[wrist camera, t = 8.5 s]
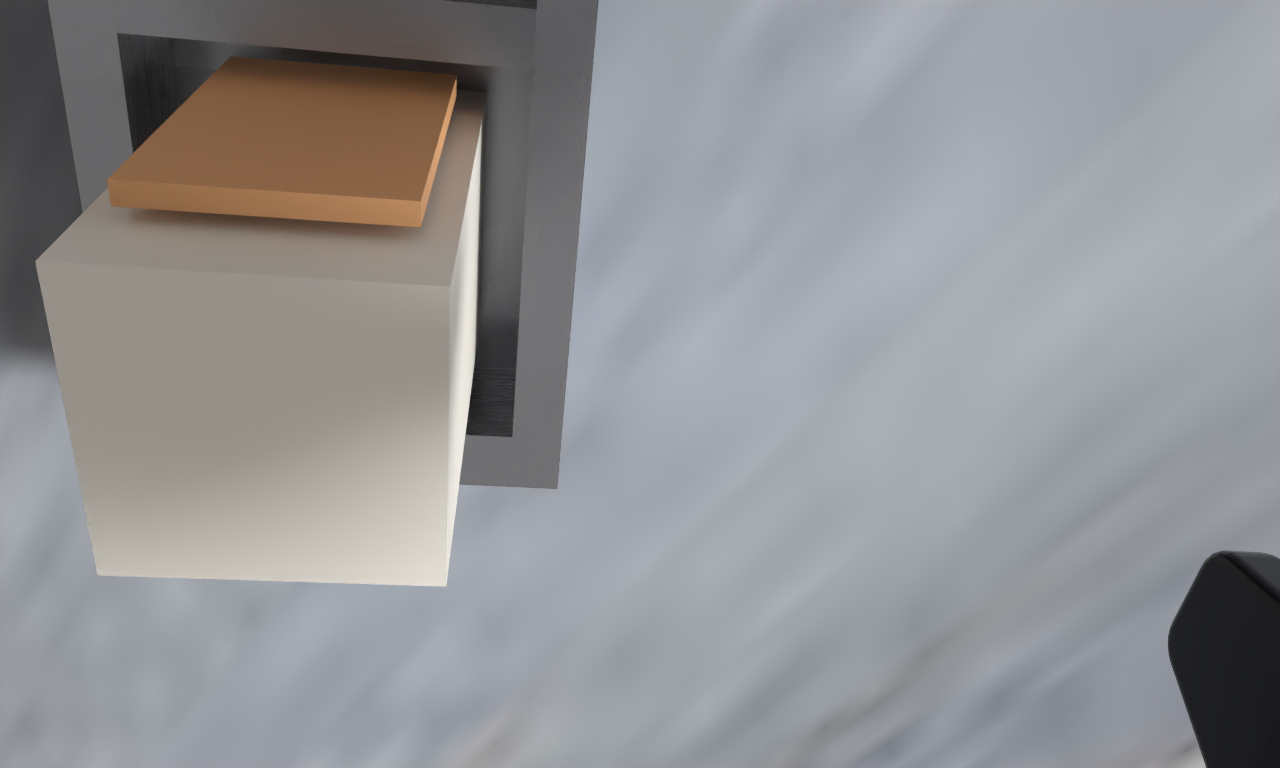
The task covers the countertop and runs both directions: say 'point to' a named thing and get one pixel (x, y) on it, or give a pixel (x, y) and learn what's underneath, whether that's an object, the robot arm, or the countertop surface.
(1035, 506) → the countertop surface
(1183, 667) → the robot arm
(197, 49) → the grey holder tray
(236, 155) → the pale upright block
